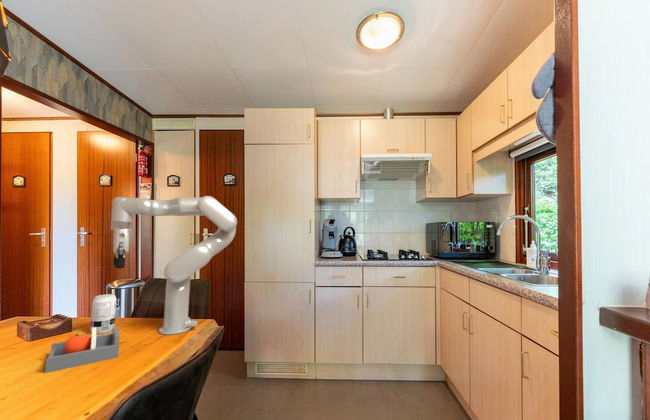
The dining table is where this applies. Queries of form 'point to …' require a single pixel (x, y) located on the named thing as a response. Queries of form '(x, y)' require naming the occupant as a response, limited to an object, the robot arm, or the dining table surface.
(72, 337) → the clementine
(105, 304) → the supplement can
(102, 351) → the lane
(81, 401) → the dining table surface
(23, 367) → the dining table surface
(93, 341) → the pusher
